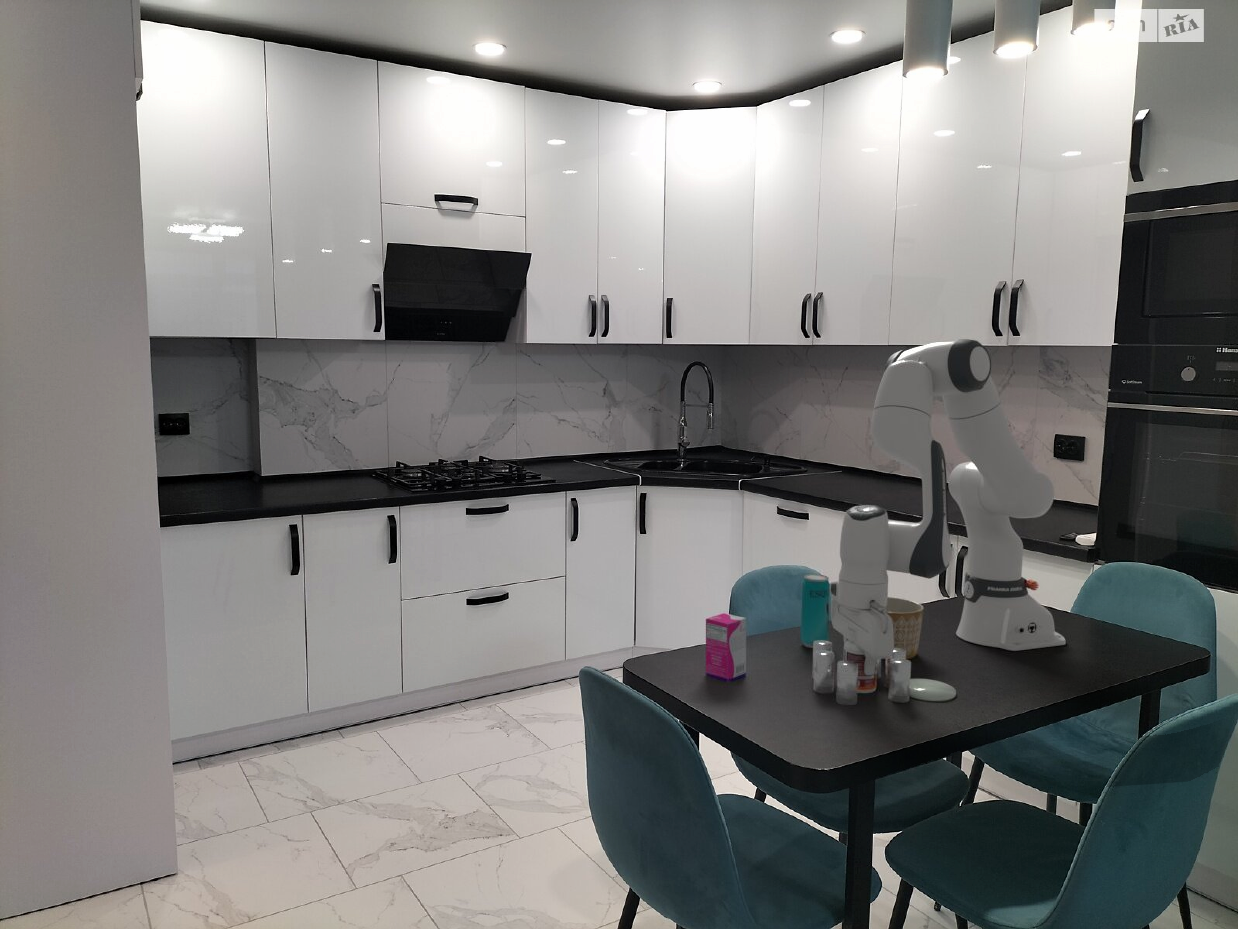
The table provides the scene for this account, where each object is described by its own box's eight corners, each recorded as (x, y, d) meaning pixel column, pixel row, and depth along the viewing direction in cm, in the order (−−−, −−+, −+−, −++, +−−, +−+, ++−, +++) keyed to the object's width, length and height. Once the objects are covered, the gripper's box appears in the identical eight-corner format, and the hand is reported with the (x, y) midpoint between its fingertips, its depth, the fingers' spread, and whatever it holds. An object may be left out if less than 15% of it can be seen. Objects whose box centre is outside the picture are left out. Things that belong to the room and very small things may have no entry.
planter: (932, 653, 190) (934, 605, 188) (902, 667, 181) (904, 616, 180) (878, 640, 199) (880, 593, 197) (847, 652, 190) (848, 604, 189)
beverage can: (830, 649, 192) (832, 580, 190) (803, 649, 192) (805, 580, 190) (824, 641, 197) (827, 574, 196) (798, 640, 197) (800, 573, 196)
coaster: (938, 680, 173) (939, 677, 173) (966, 699, 164) (966, 696, 163) (889, 683, 172) (889, 679, 172) (914, 702, 162) (914, 699, 162)
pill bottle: (882, 693, 167) (885, 633, 165) (851, 695, 165) (854, 635, 164) (866, 681, 172) (868, 623, 171) (836, 683, 171) (838, 625, 170)
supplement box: (722, 668, 179) (724, 612, 178) (746, 675, 175) (748, 618, 174) (704, 675, 175) (705, 617, 174) (728, 683, 171) (729, 624, 170)
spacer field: (885, 672, 178) (886, 637, 177) (923, 701, 162) (925, 664, 162) (799, 676, 175) (800, 641, 174) (830, 706, 160) (831, 668, 159)
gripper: (904, 609, 157) (901, 685, 159) (856, 580, 177) (853, 649, 179) (870, 610, 156) (867, 687, 158) (826, 581, 176) (823, 650, 178)
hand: (859, 666), depth 168 cm, fingers closed on pill bottle, 6 cm apart
